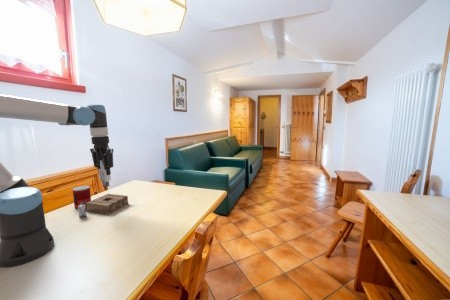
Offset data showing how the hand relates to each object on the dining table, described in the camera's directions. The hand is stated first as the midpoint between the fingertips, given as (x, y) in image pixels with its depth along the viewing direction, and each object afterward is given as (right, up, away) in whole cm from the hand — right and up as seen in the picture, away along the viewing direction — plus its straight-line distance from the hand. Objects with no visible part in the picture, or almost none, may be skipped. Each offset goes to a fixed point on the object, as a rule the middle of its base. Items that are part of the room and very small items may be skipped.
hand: (105, 180), depth 103 cm
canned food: (-19, -16, +10) cm, 27 cm away
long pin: (0, -3, +1) cm, 3 cm away
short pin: (-10, -18, -3) cm, 21 cm away
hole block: (-3, -17, +7) cm, 18 cm away
